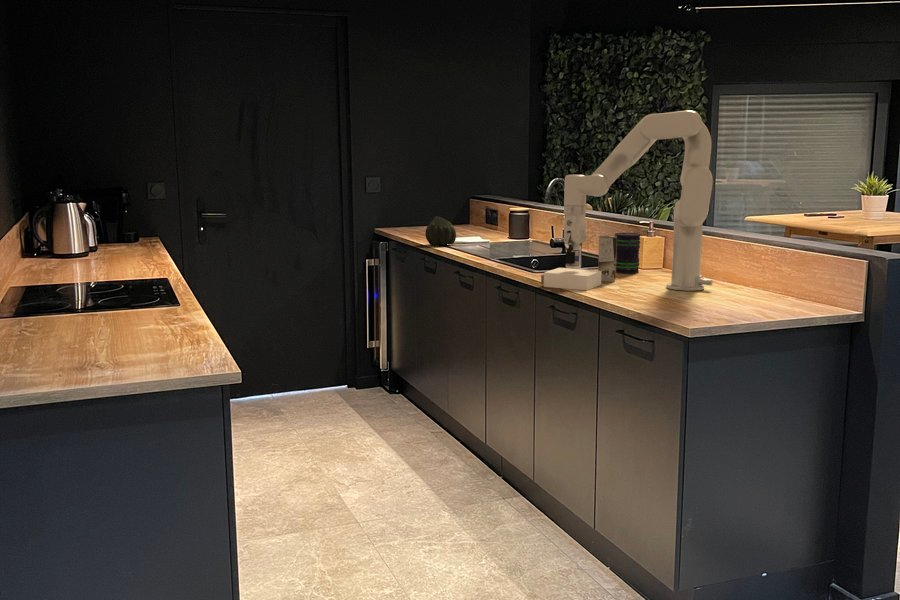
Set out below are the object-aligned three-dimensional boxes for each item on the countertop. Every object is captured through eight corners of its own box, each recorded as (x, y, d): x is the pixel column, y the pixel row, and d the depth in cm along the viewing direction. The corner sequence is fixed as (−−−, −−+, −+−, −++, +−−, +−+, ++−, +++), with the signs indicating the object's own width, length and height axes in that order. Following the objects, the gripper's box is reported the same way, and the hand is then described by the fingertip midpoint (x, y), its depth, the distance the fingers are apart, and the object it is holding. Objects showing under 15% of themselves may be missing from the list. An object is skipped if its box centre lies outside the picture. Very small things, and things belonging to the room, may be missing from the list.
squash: (458, 236, 417) (454, 211, 424) (427, 237, 415) (424, 212, 422) (455, 253, 429) (452, 228, 436) (426, 254, 427) (422, 230, 434)
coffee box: (615, 282, 313) (617, 237, 310) (597, 281, 314) (598, 237, 311) (615, 278, 322) (617, 235, 319) (598, 277, 323) (599, 234, 320)
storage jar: (644, 273, 335) (645, 234, 332) (622, 274, 331) (623, 235, 329) (629, 269, 344) (631, 232, 341) (608, 271, 340) (609, 233, 338)
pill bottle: (570, 266, 307) (571, 238, 305) (584, 267, 304) (584, 239, 302) (562, 267, 303) (563, 239, 301) (575, 269, 299) (576, 241, 298)
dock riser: (600, 284, 307) (601, 270, 306) (587, 290, 294) (587, 275, 294) (556, 281, 315) (556, 267, 314) (541, 286, 303) (541, 272, 302)
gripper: (576, 212, 291) (574, 266, 294) (593, 209, 305) (592, 260, 308) (555, 211, 294) (554, 264, 297) (573, 208, 309) (572, 259, 312)
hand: (573, 261), depth 303 cm, fingers closed on pill bottle, 5 cm apart
